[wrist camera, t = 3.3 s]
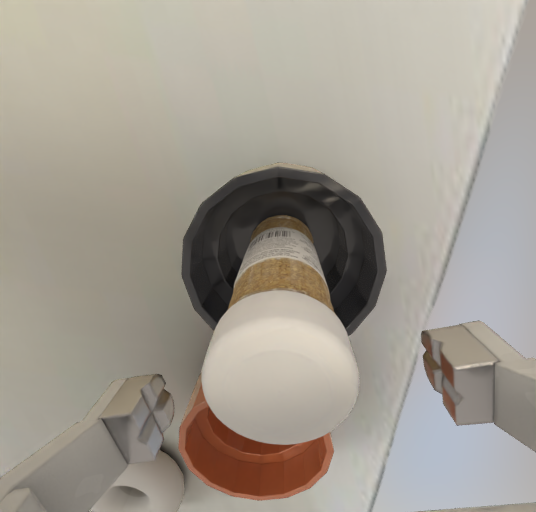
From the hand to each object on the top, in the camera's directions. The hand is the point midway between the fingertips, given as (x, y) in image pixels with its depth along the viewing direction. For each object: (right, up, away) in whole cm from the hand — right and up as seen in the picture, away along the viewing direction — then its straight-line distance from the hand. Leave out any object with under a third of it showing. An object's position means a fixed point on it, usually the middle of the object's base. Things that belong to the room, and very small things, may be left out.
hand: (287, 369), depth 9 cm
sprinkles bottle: (0, +4, +12) cm, 13 cm away
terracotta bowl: (-1, -9, +17) cm, 19 cm away
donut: (-14, -19, +22) cm, 32 cm away
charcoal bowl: (0, +4, +12) cm, 13 cm away
